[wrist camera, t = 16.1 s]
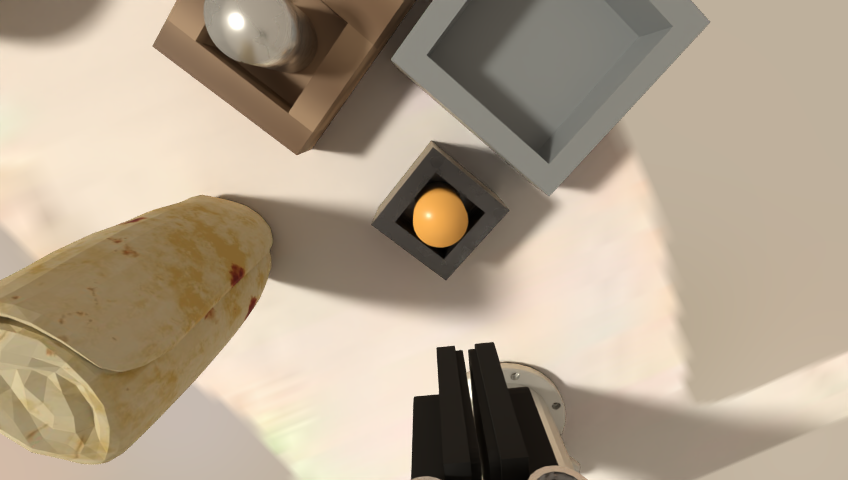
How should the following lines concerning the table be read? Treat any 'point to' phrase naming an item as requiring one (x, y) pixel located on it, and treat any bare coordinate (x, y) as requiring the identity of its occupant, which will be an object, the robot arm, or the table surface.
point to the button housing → (475, 196)
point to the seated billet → (262, 33)
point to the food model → (124, 324)
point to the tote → (544, 70)
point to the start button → (439, 215)
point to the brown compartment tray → (278, 91)
